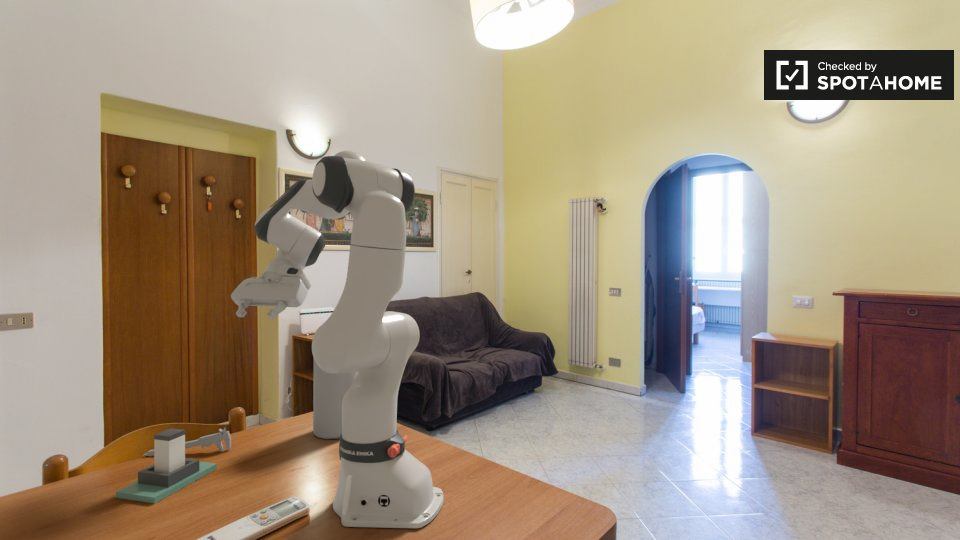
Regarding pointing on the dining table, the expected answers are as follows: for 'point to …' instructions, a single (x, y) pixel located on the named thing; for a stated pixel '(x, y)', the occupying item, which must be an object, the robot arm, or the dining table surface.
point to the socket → (164, 481)
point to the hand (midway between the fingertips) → (255, 316)
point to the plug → (169, 450)
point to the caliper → (207, 441)
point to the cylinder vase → (329, 401)
